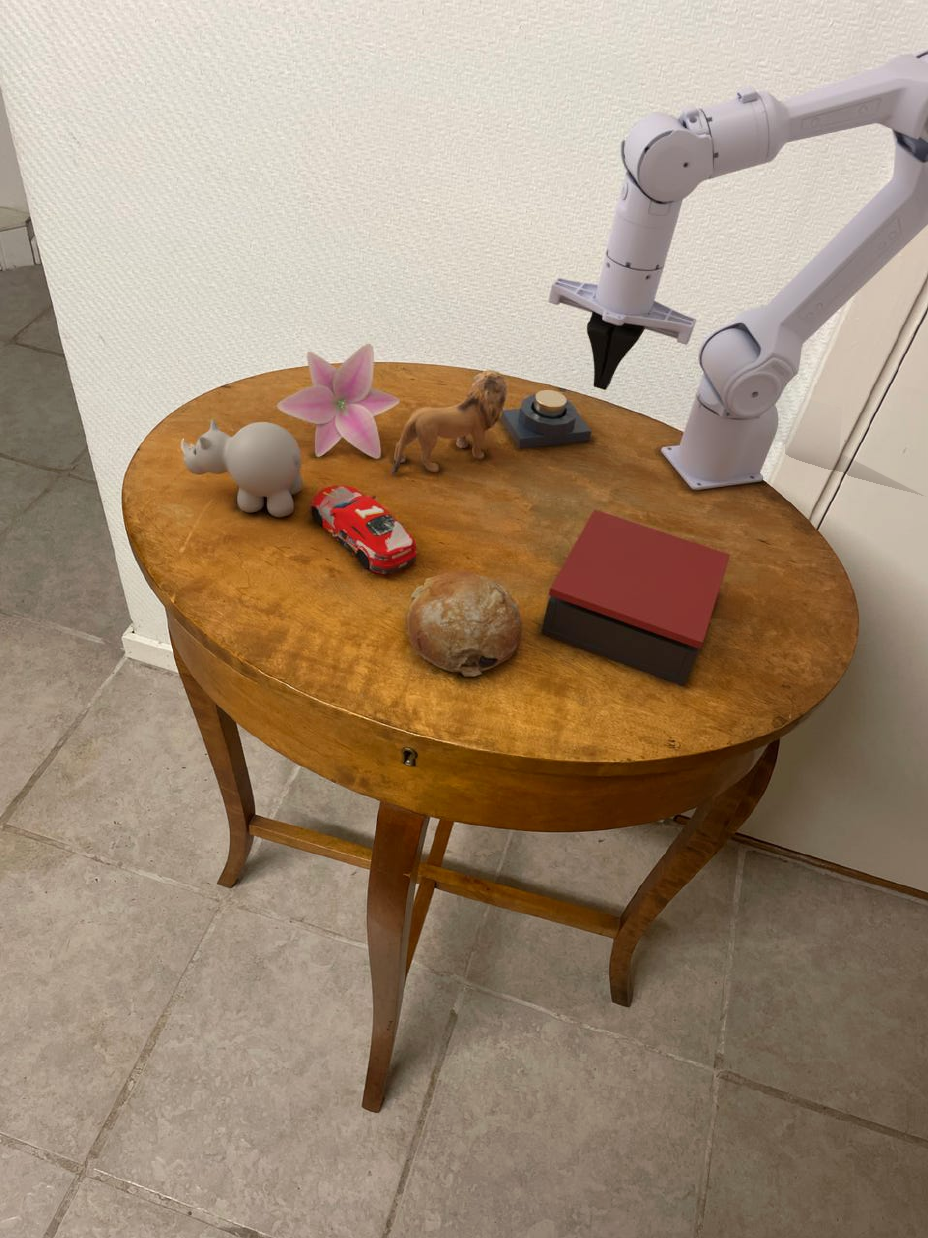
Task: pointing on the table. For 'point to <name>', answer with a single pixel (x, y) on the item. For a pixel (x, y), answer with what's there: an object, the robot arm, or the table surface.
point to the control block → (544, 426)
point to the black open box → (618, 641)
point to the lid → (643, 578)
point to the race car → (364, 528)
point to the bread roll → (463, 622)
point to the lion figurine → (456, 420)
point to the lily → (341, 402)
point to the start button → (549, 404)
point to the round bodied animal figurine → (251, 464)
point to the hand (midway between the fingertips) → (601, 384)
